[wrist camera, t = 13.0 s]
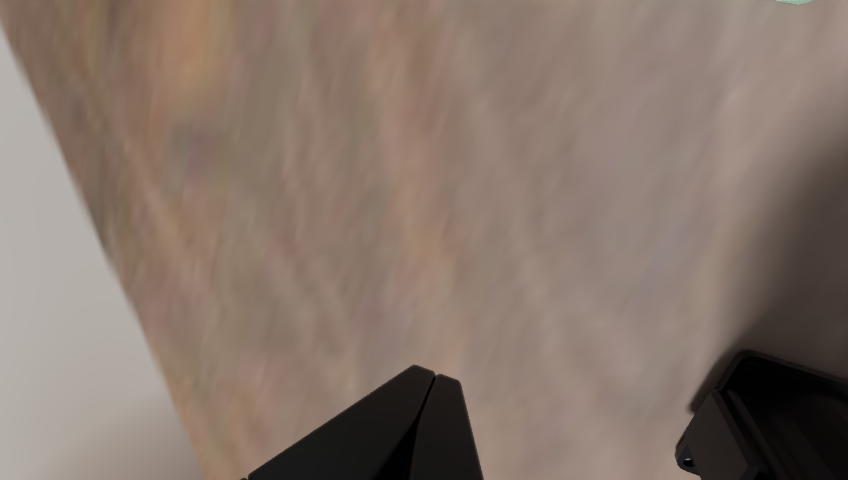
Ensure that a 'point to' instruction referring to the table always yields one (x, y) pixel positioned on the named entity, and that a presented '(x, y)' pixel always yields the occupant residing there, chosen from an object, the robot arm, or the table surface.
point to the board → (795, 1)
